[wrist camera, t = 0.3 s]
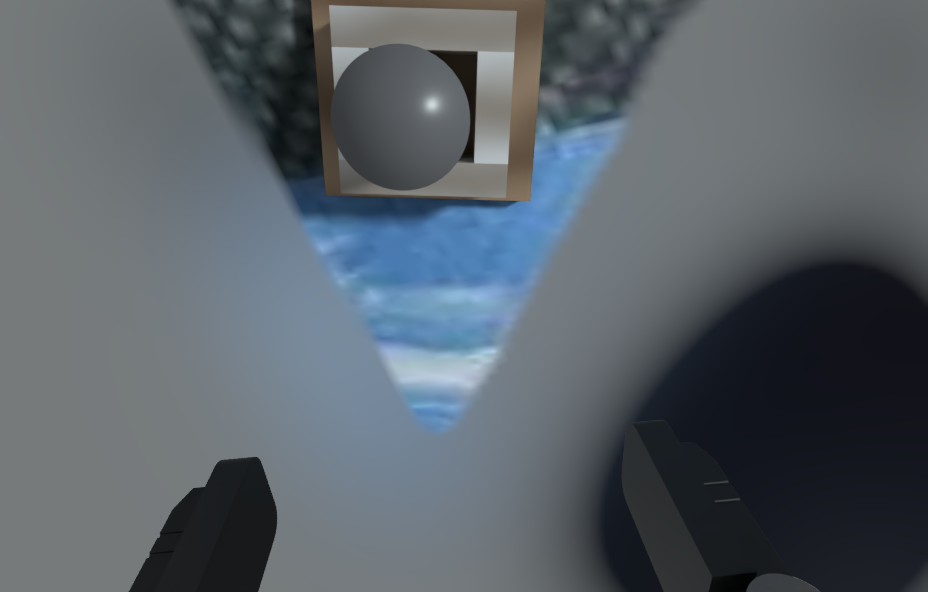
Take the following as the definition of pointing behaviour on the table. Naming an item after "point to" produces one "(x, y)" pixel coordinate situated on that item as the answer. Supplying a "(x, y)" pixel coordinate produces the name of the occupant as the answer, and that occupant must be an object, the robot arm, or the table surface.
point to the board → (471, 59)
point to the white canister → (400, 117)
